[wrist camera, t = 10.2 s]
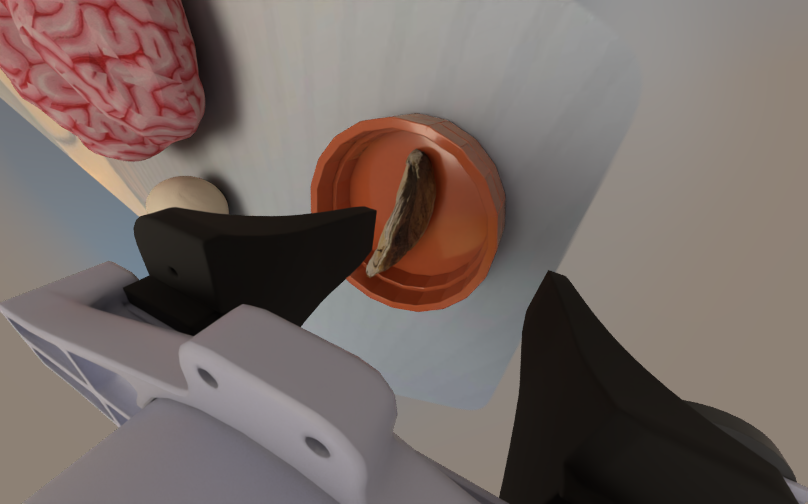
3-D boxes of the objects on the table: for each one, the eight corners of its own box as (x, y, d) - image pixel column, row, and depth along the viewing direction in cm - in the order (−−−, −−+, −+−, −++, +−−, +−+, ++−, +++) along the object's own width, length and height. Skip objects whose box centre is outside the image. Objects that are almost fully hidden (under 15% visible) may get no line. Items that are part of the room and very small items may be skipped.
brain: (129, -178, 19) (-179, -378, 11) (264, 109, 25) (128, 116, 17) (58, -7, 28) (-135, -47, 20) (168, 171, 34) (51, 194, 26)
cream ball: (230, 240, 35) (173, 266, 30) (190, 189, 34) (123, 207, 29) (254, 216, 31) (194, 241, 26) (210, 158, 30) (137, 171, 25)
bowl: (538, 140, 18) (536, 152, 14) (473, 302, 25) (461, 338, 21) (349, 95, 21) (308, 95, 18) (341, 249, 28) (311, 272, 25)
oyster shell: (427, 173, 25) (389, 280, 26) (389, 155, 24) (350, 269, 24) (466, 165, 20) (417, 301, 20) (421, 141, 18) (369, 288, 19)
